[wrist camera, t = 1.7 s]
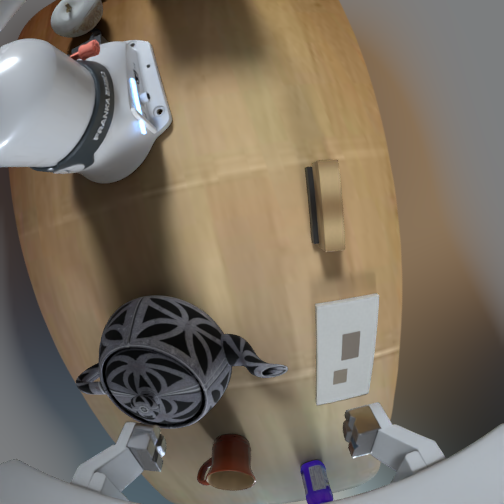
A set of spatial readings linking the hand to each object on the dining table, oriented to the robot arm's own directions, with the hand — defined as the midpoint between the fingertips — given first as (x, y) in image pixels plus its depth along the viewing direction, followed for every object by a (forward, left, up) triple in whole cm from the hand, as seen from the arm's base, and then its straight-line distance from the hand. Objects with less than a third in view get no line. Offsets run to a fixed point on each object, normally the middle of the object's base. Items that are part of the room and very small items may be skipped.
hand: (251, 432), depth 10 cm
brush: (-7, +11, -28) cm, 31 cm away
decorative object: (-44, -22, -28) cm, 56 cm away
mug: (+37, -9, -28) cm, 48 cm away
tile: (+17, +14, -28) cm, 36 cm away
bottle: (+51, +9, -28) cm, 59 cm away
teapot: (+11, -12, -28) cm, 33 cm away
